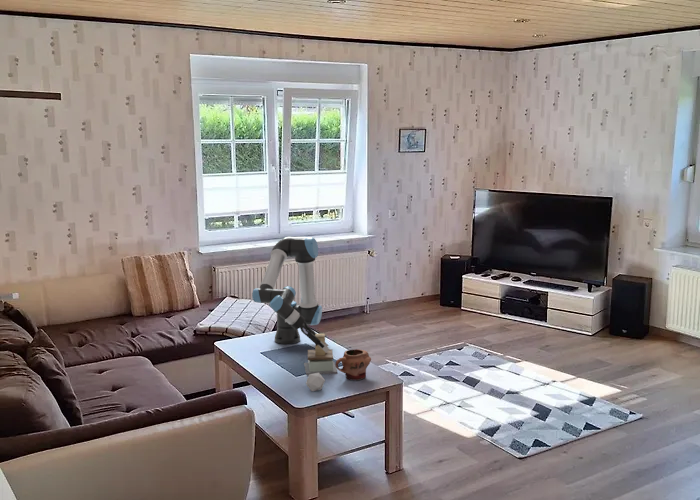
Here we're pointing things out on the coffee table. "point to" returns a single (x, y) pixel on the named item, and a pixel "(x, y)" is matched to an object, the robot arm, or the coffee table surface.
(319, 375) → the die
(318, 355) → the wooden t-shaped block
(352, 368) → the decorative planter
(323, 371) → the square socket base
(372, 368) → the coffee table surface
